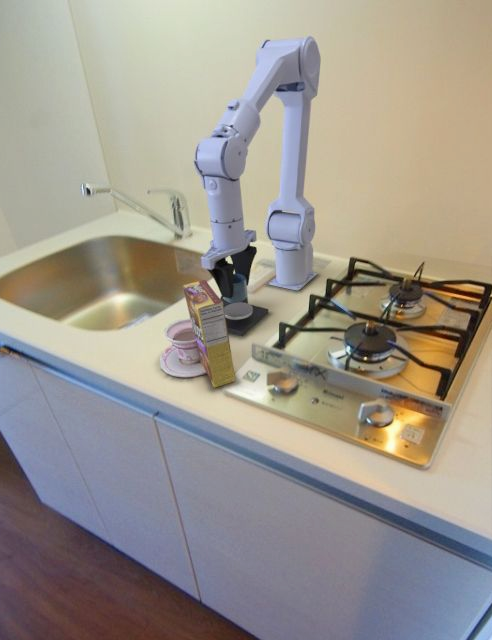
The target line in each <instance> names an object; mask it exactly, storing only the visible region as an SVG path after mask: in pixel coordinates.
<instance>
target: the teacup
mask: <svg viewBox="0 0 492 640" xmlns="http://www.w3.org/2000/svg"><path fill="white" fill-rule="evenodd" d="M163 333H164V336H165V338H166V340H167V341H169V342H170V343H171V344H172V345H171V346H169V347H168V348H166V349H165V350H164V351H163V352H162V353H161V355H160V357H159V365H160V368H161V370H162V371H164V373H166V374H167V375H170V376H172V377H177V378H194V377H195V378H196V377H198V376H202V375H205V374H206V375H207V373H206V371H205V369H204V367H203V365H202V364H201V362H200V359H199V358H200V357H199V353H198V349H197V340H196V339H195V337H194V333H193V328H192V324H191V319H190V318H183V319H177V320H175V321H173V322H171V323H168V324H167V326H165V328H164V331H163ZM180 360H183V361H185V362H186V363H188V364H193V365H186V364H183V363H182V362H181V361H180ZM198 362H199V363H198ZM196 363H197V364H196Z"/></svg>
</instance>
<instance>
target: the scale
mask: <svg viewBox="0 0 492 640" xmlns="http://www.w3.org/2000/svg"><path fill="white" fill-rule="evenodd" d="M219 298H220V300H221V301H222V302H223V306H224V307H226V306H227V305H229V304H232V303H230V302H227V301H226V300H225V299H223V297H222V295H220V297H219ZM241 302H243V303H248V304H249V297H248V296H247V297H246V298H245V300H243V301H241ZM250 305H251V306H252V308H253V313H252V314H251V315H250V316H249V317H247V318H244V319H239V320H233V319H228V318H226V317H225V318H226V325H227V331H228V334H231V335H235V336H238V337H244V336H245V335H246V334H247V333H249V331H251V330H252V329H253V328H255V326H256V325H257V324H259V323H260V322H261V321H262V320H264V318H265V317H266V316H268V315H269V308H266V307H262V306H259V305H258V306H257V305H254V304H250Z"/></svg>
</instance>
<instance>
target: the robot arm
mask: <svg viewBox="0 0 492 640" xmlns="http://www.w3.org/2000/svg"><path fill="white" fill-rule="evenodd" d="M321 58H322V57H321V53H320V49H319V46H318V43H317V41H316V39H315V38H314V37H313V36H312V35H307V36H305V37H296V38H295V37H294V38H284V39H283V38H282V39H273V40H271V39H264V40H263V41H261V44H260V45H259V48H258V49H257V51H255V69H254V72H253V74H252V76H251V78H250V80H249V82H248V84H247V86H246V88H245V90H244V92H243V95H242V97H241V98H238V97H237V98H234V99H231V100H229V101H228V103H227V105H226V109H225V111H224V113H223V114H222V115H221V118H220V119H219V121H218V123H217V124H216V126H215V127H214V129H213V131H212V133H211V135H210V136H206V137H203V138H202V139H201V141H199V142H198V144H197V145H196V148H195V151H194V160H193V167H194V169H195V171H196V173H197V174H198V176H199V178H200V180H201V186H202V187H203V189H204V190H205V192H206V200H207V206H208V214H209V220H210V227H211V234H212V240H209V246H210V247H209V249H208V250H207V251H206V252H205V254H203V255H202V256H201V257H200V261H201V267H202V269H205V270H207V271H208V273H209V274H210V275H211V276H212V278H213V280H214V282H215V284H216V286H217V287H218V290H219V292H220V296H222V297H226V298H232V297H233V274H243V275H244V276H246V283H247V287H248V286H249V283H250V278H251V277H250V275H251V271H252V266H253V262H254V260H255V257H256V255H257V253H258V249H257V246H254V245H251V243H255V242H257V240H258V238H257V230H255V229H254V230H253V229H248V228H247V229H246V230H245V222H244V213H243V212H244V210H243V198H242V190H241V189H242V188H241V176H242V175H243V174H244V173H245V169H246V163H247V156H248V154H249V146H250V144H251V142H252V141H253V139H254V137H255V135H256V134H257V132H258V130H259V129H260V126H261V123H262V121H261V120H262V119H261V115H260V113H261V112H262V110H263V109H264V107H265V106H266V104H267V103H268V102H269V100H270V99H271V97H272V96H274V97H275V98H277V99H279V100H280V101H281V103H282V105H283V125H282V143H281V144H282V145H281V159H280V160H281V161H280V175H279V189H278V190H279V191H278V192H279V193H278V197H276V198H275V199H274V200H273V201H272V202H271V203H270V204H268V209H267V216H266V220H265V223H264V232H265V234H266V237H267V239H268V240H269V241H271V246H274V262H275V276H274V278H273V279H272V280H270V281H269V282H268V285H269V286H274V287H278V288H281V289H282V288H283V289H288V290H292V291H300V290H301V289H302V288H304V287H305V286H306V285H307V284H308V283H309V282H310V281H312V279H314V278H315V277H316V276H317V272H315V271H314V246H313V244H312V241H313V239H314V238H315V233H316V221H315V207H314V206H313V205H312V204H311V203H310V202H309V201H308V200H307V199H306V198H305V197H304V193H305V181H306V169H307V158H308V147H309V135H310V122H311V110H312V100H313V99H314V98H317V96H318V92H319V91H318V90H319V83H320V72H321V63H322V62H321V60H322V59H321ZM228 257H230V259H231V262H232V263H231V262H228V260H227V258H228Z"/></svg>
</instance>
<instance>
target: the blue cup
mask: <svg viewBox="0 0 492 640" xmlns="http://www.w3.org/2000/svg"><path fill="white" fill-rule="evenodd" d="M247 296H248V286H247V283H246V276H244V275H243V274H235V273H233V297H232V298H226V297H223V299H225V300H226V301H227V302H230V303H238V302H241V301H243V300H245V298H246V297H247Z"/></svg>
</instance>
